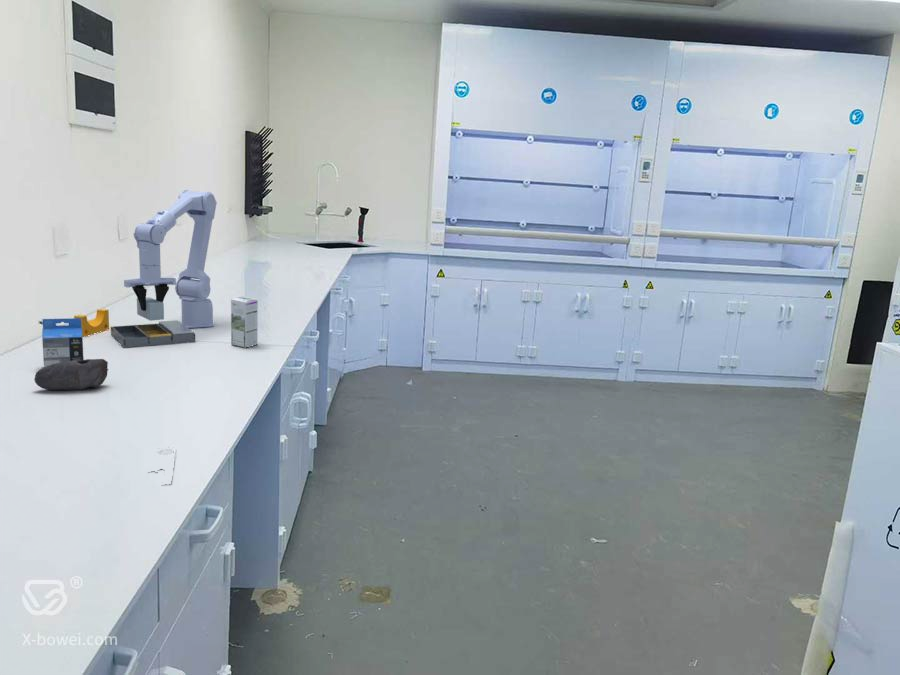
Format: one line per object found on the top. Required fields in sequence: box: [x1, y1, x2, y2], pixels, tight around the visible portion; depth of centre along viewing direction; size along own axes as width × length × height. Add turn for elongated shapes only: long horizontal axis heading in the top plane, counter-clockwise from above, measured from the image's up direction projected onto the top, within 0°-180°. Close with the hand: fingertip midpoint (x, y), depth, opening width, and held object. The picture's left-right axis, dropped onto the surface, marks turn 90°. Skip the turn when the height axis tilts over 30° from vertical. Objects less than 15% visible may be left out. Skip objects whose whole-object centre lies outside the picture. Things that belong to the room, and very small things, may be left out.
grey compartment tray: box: [110, 319, 196, 349], centre depth 205 cm, size 20×16×3 cm
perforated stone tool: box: [34, 358, 109, 391], centre depth 156 cm, size 15×5×7 cm, turn 114°
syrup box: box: [230, 296, 259, 349], centre depth 204 cm, size 6×6×14 cm
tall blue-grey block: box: [136, 297, 165, 322], centre depth 204 cm, size 4×10×5 cm, turn 45°
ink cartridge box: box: [41, 317, 85, 368], centre depth 171 cm, size 9×4×12 cm, turn 117°
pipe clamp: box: [73, 308, 110, 338], centre depth 206 cm, size 12×4×6 cm, turn 171°
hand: (151, 309), depth 203 cm, fingers closed on tall blue-grey block, 4 cm apart
